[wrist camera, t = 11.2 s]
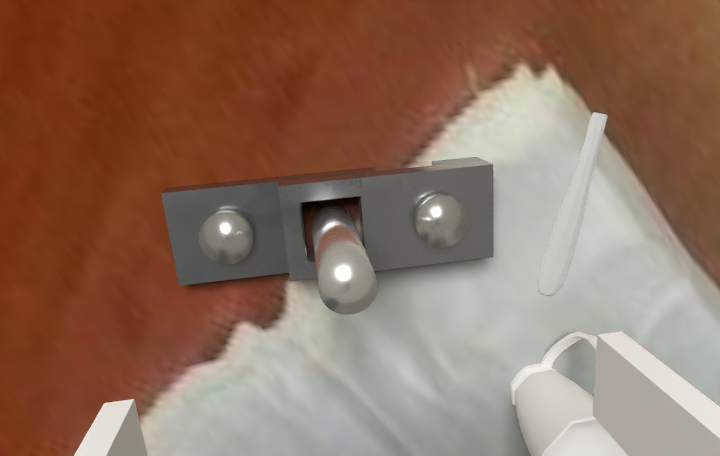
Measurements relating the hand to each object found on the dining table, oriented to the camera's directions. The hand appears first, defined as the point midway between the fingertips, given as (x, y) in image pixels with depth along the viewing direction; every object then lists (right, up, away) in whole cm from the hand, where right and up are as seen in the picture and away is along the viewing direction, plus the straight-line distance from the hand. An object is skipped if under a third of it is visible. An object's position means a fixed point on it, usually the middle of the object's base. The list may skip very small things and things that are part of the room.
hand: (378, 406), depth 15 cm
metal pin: (-2, +6, +20) cm, 21 cm away
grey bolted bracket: (-2, +6, +20) cm, 21 cm away
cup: (+13, -6, +25) cm, 29 cm away
